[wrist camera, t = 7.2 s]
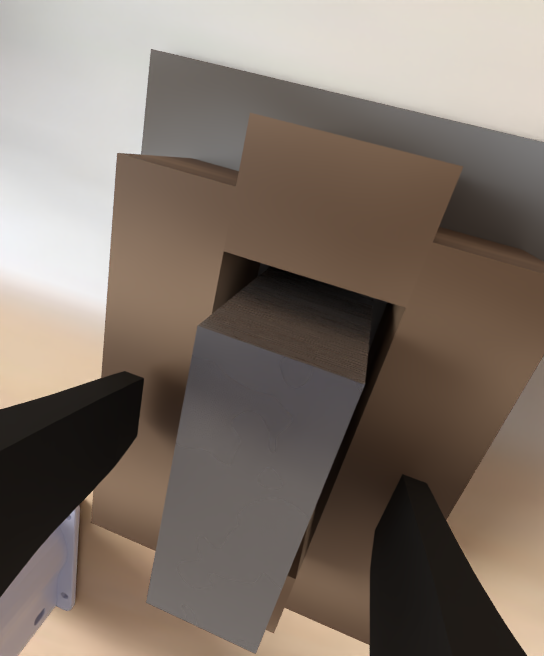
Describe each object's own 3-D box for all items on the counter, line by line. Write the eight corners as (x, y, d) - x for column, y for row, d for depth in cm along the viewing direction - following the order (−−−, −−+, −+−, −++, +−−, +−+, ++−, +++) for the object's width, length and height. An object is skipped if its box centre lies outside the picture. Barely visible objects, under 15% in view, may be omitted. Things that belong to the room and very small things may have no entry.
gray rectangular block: (306, 465, 16) (255, 653, 10) (237, 438, 17) (146, 602, 10) (375, 280, 13) (364, 384, 7) (287, 252, 13) (197, 325, 7)
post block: (394, 583, 18) (396, 712, 14) (120, 470, 20) (48, 551, 16) (631, 167, 11) (793, 164, 7) (163, 55, 13) (51, -3, 9)
